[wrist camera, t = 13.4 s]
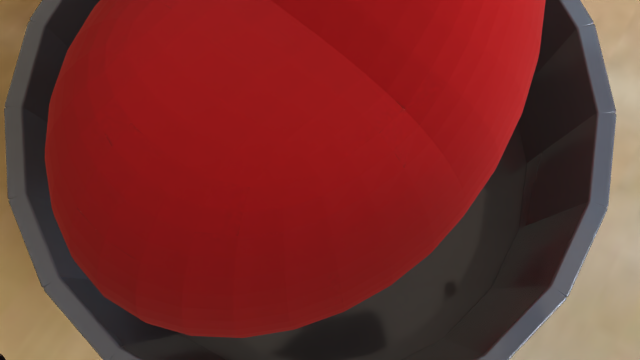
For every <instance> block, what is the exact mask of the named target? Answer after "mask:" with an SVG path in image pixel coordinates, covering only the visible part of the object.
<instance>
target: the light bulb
mask: <svg viewBox="0 0 640 360" xmlns="http://www.w3.org/2000/svg"><path fill="white" fill-rule="evenodd" d="M545 1H546V0H100V1H99V2H98V3H97V4H96V5H95V7H94V8H93V10H92V11H91V13H90V14H89V16H88V17H87V19H86V21H85V22H84V24H83V26H82V27H81V29H80V30H79V32H78V34H77V35H76V37H75V39H74V40H73V42H72V44H71V45H70V47H69V49H68V50H67V53H66V56H65V59H64V61H63V64H62V67H61V70H60V73H59V75H58V78H57V81H56V84H55V87H54V90H53V92H52V96H51V99H50V103H49V112H48V123H47V133H46V143H45V165H46V172H47V179H48V186H49V193H50V200H51V206H52V210H53V214H54V216H55V219H56V221H57V223H58V226H59V228H60V230H61V233H62V235H63V238H64V240H65V242H66V245H67V247H68V249H69V252H70V254H71V256H72V258H73V259H74V261H75V262H76V263H77V265H78V266H79V267H80V268H81V270H82V271H83V272H84V273H85V274H86V276H87V277H88V278H89V279H90V280H91V282H92V283H93V284H94V285H95V286H96V288H97V289H98V290H99V291H100V293H101V294H102V295H103V296H104V297H105V298H107V299H108V300H110V301H112V302H113V303H115V304H116V305H118V306H120V307H121V308H123V309H124V310H126V311H128V312H129V313H131V314H132V315H134V316H136V317H137V318H139V319H140V320H142V321H144V322H145V323H148V324H151V325H155V326H158V327H162V328H165V329H169V330H172V331H176V332H179V333H183V334H186V335H190V336H206V337H231V338H246V337H252V336H258V335H264V334H270V333H277V332H283V331H289V330H295V329H297V328H300V327H303V326H306V325H309V324H311V323H314V322H317V321H320V320H322V319H325V318H328V317H331V316H334V315H336V314H339V313H342V312H344V311H346V310H348V309H350V308H352V307H353V306H355V305H357V304H359V303H360V302H362V301H364V300H366V299H368V298H369V297H371V296H373V295H375V294H377V293H378V292H380V291H382V290H384V289H385V288H387V287H389V286H391V285H392V284H393V283H394V282H396V281H397V280H398V279H399V278H401V277H402V276H403V275H404V274H406V273H407V272H408V271H409V270H411V269H412V268H413V267H414V266H416V265H417V264H418V263H419V262H421V261H422V260H423V259H424V258H426V257H427V256H428V255H429V254H430V253H432V251H433V250H434V249H435V248H436V247H437V246H438V245H439V244H440V242H441V241H442V240H443V239H444V238H445V237H446V236H447V234H448V233H449V232H450V231H451V230H452V229H453V228H454V226H455V225H456V224H457V223H458V222H459V221H460V220H461V219H462V217H463V216H464V215H465V213H466V212H467V210H468V209H469V208H470V206H471V205H472V203H473V202H474V200H475V199H476V197H477V196H478V194H479V193H480V191H481V190H482V189H483V187H484V186H485V184H486V183H487V181H488V180H489V178H490V177H491V175H492V174H493V173H494V171H495V169H496V167H497V165H498V163H499V161H500V159H501V157H502V155H503V153H504V151H505V148H506V146H507V144H508V142H509V140H510V138H511V136H512V134H513V132H514V129H515V127H516V125H517V123H518V121H519V119H520V117H521V115H522V112H523V109H524V105H525V102H526V99H527V95H528V92H529V88H530V85H531V82H532V78H533V75H534V71H535V68H536V65H537V61H538V57H539V52H540V44H541V35H542V27H543V18H544V10H545Z"/></svg>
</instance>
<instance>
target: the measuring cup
mask: <svg viewBox="0 0 640 360" xmlns="http://www.w3.org/2000/svg"><path fill="white" fill-rule="evenodd" d="M99 1H100V0H42V1H41V3H40V4H39V6H38V7H37V9H36V10H35V12H34V13H33V15H32V16H31V18H30V21H29V22H28V25H27V29H26V32H25V36H24V39H23V43H22V46H21V50H20V53H19V57H18V60H17V64H16V67H15V71H14V74H13V78H12V81H11V85H10V88H9V92H8V95H7V99H6V102H5V107H6V108H4V116H5V140H6V165H7V189H8V199H10V200H9V204H10V206H11V209H12V211H13V214H14V216H15V219H16V222H17V224H18V227H19V229H20V232H21V234H22V237H23V240H24V242H25V245H26V247H27V250H28V252H29V255H30V258H31V260H32V263H33V265H34V268H35V270H36V273H37V276H38V278H39V281H40V283H41V286H42V287H43V288H44V291H45V292H46V293H47V295H48V296H49V297H50V298H51V299H52V300H53V302H54V303H55V304H56V305H57V306H58V307H59V309H60V310H61V311H62V312H63V313H64V315H65V316H66V317H67V318H68V319H69V320H70V322H71V323H72V324H73V325H74V326H75V327H76V329H77V330H78V331H79V332H80V333H81V334H82V336H83V337H84V338H85V339H86V340H87V341H88V343H89V344H90V345H91V346H92V347H93V348H94V350H95V351H96V352H97V353H98V354H99V355H100V357H101V358H102V359H103V360H509V359H510V358H511V357H512V356H513V355H514V354H515V353H516V352H517V351H518V350H519V349H520V348H521V347H522V345H523V344H524V343H525V342H526V341H527V340H528V339H529V338H530V337H531V336H532V335H533V334H534V333H535V332H536V331H537V330H538V329H539V328H540V327H541V325H542V324H543V323H544V322H545V321H546V320H547V319H548V318H549V317H550V316H551V315H552V314H553V313H554V312H555V311H556V310H557V309H558V308H559V307H560V306H561V304H562V303H563V302H564V301H565V300H566V297H568V296H569V294H570V291H571V289H572V287H573V285H574V282H575V280H576V278H577V276H578V274H579V271H580V269H581V267H582V265H583V262H584V260H585V258H586V256H587V254H588V251H589V249H590V247H591V245H592V243H593V240H594V238H595V236H596V234H597V231H598V229H599V227H600V225H601V223H602V220H603V218H604V216H605V214H606V211H607V207H608V202H609V191H610V180H611V169H612V157H613V146H614V135H615V123H616V114H615V113H616V109H615V105H614V101H613V97H612V93H611V89H610V85H609V81H608V76H607V72H606V68H605V64H604V60H603V56H602V52H601V48H600V44H599V40H598V36H597V32H596V28H595V25H594V24H593V20H592V19H591V17H590V15H589V14H588V12H587V11H586V9H585V7H584V6H583V4H582V3H581V1H580V0H546V1H545V10H544V18H543V27H542V35H541V44H540V52H539V57H538V61H537V65H536V68H535V71H534V75H533V78H532V82H531V85H530V88H529V92H528V95H527V99H526V102H525V105H524V109H523V112H522V115H521V117H520V119H519V121H518V123H517V125H516V127H515V129H514V132H513V134H512V136H511V138H510V140H509V142H508V144H507V146H506V148H505V151H504V153H503V155H502V157H501V159H500V161H499V163H498V165H497V167H496V169H495V171H494V173H493V174H492V175H491V177H490V178H489V180H488V181H487V183H486V184H485V186H484V187H483V189H482V190H481V191H480V193H479V194H478V196H477V197H476V199H475V200H474V202H473V203H472V205H471V206H470V208H469V209H468V210H467V212H466V213H465V215H464V216H463V217H462V219H461V220H460V221H459V222H458V223H457V224H456V225H455V226H454V228H453V229H452V230H451V231H450V232H449V233H448V234H447V236H446V237H445V238H444V239H443V240H442V241H441V242H440V244H439V245H438V246H437V247H436V248H435V249H434V250H433V251H432V253H430V254H429V255H428V256H427V257H426V258H424V259H423V260H422V261H421V262H419V263H418V264H417V265H416V266H414V267H413V268H412V269H411V270H409V271H408V272H407V273H406V274H404V275H403V276H402V277H401V278H399V279H398V280H397V281H396V282H394V283H393V284H392V285H391V286H389V287H387V288H385V289H384V290H382V291H380V292H378V293H377V294H375V295H373V296H371V297H369V298H368V299H366V300H364V301H362V302H360V303H359V304H357V305H355V306H353V307H352V308H350V309H348V310H346V311H344V312H342V313H339V314H336V315H334V316H331V317H328V318H325V319H322V320H320V321H317V322H314V323H311V324H309V325H306V326H303V327H300V328H297V329H295V330H289V331H283V332H277V333H270V334H264V335H258V336H252V337H246V338H231V337H206V336H190V335H186V334H183V333H179V332H176V331H172V330H169V329H165V328H162V327H158V326H155V325H151V324H148V323H145V322H144V321H142V320H140V319H139V318H137V317H136V316H134V315H132V314H131V313H129V312H128V311H126V310H124V309H123V308H121V307H120V306H118V305H116V304H115V303H113V302H112V301H110V300H108V299H107V298H105V297H104V296H103V295H102V294H101V293H100V291H99V290H98V289H97V288H96V286H95V285H94V284H93V283H92V282H91V280H90V279H89V278H88V277H87V276H86V274H85V273H84V272H83V271H82V270H81V268H80V267H79V266H78V265H77V263H76V262H75V261H74V259H73V258H72V256H71V254H70V252H69V249H68V247H67V245H66V242H65V240H64V238H63V235H62V233H61V230H60V228H59V226H58V223H57V221H56V219H55V216H54V214H53V210H52V206H51V200H50V193H49V186H48V179H47V172H46V165H45V143H46V133H47V123H48V112H49V103H50V99H51V96H52V92H53V90H54V87H55V84H56V81H57V78H58V75H59V73H60V70H61V67H62V64H63V61H64V59H65V56H66V53H67V50H68V49H69V47H70V45H71V44H72V42H73V40H74V39H75V37H76V35H77V34H78V32H79V30H80V29H81V27H82V26H83V24H84V22H85V21H86V19H87V17H88V16H89V14H90V13H91V11H92V10H93V8H94V7H95V5H96V4H97V3H98V2H99Z"/></svg>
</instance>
